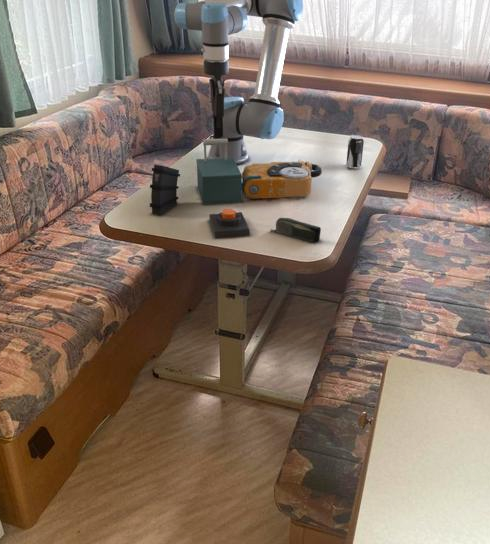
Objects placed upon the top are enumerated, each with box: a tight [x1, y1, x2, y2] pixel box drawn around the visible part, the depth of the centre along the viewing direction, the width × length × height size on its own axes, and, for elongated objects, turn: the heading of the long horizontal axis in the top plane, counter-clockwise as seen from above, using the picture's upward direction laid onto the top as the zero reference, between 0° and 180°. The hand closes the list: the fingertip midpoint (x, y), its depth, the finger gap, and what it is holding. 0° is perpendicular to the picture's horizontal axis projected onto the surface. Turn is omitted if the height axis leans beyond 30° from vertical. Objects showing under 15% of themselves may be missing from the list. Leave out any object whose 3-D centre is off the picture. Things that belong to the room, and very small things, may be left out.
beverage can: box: [345, 134, 365, 170], centre depth 219 cm, size 6×6×12 cm
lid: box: [195, 138, 242, 179], centre depth 188 cm, size 16×13×8 cm
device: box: [241, 159, 323, 200], centre depth 199 cm, size 23×8×30 cm
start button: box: [221, 208, 237, 219], centre depth 170 cm, size 4×4×2 cm
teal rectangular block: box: [196, 164, 243, 206], centre depth 192 cm, size 16×13×9 cm
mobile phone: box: [270, 217, 322, 244], centre depth 167 cm, size 5×3×15 cm
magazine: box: [149, 164, 181, 217], centre depth 180 cm, size 4×13×15 cm, turn 160°
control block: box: [208, 211, 250, 239], centre depth 171 cm, size 12×10×4 cm
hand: (218, 136), depth 185 cm, fingers closed
